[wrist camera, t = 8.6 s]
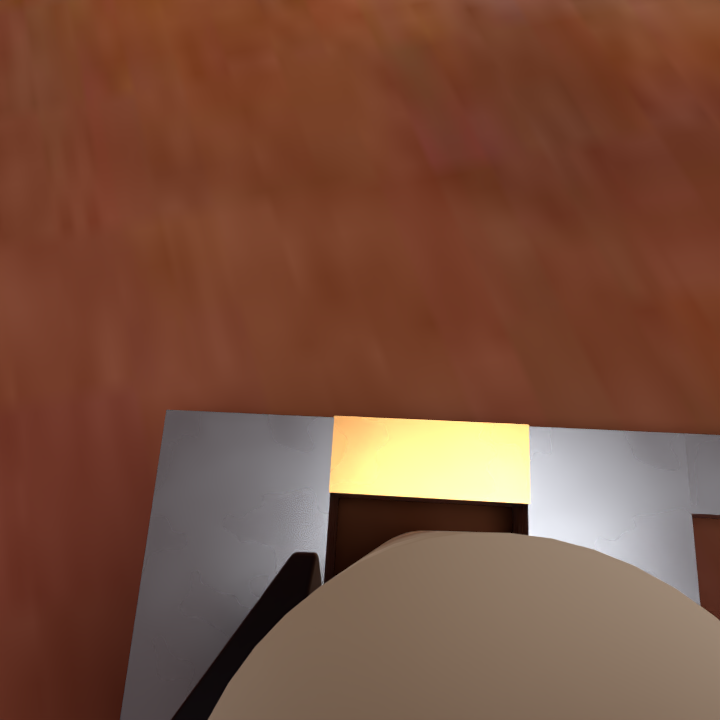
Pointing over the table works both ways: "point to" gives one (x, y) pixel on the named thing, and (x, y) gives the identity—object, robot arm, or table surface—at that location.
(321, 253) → the table surface
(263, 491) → the grey peg hole board
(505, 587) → the birch peg
